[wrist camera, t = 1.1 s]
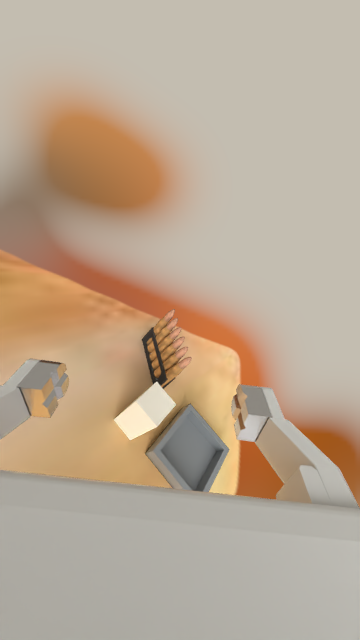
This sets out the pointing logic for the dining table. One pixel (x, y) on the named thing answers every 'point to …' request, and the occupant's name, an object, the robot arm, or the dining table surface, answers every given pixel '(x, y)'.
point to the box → (188, 452)
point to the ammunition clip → (165, 351)
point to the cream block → (145, 412)
